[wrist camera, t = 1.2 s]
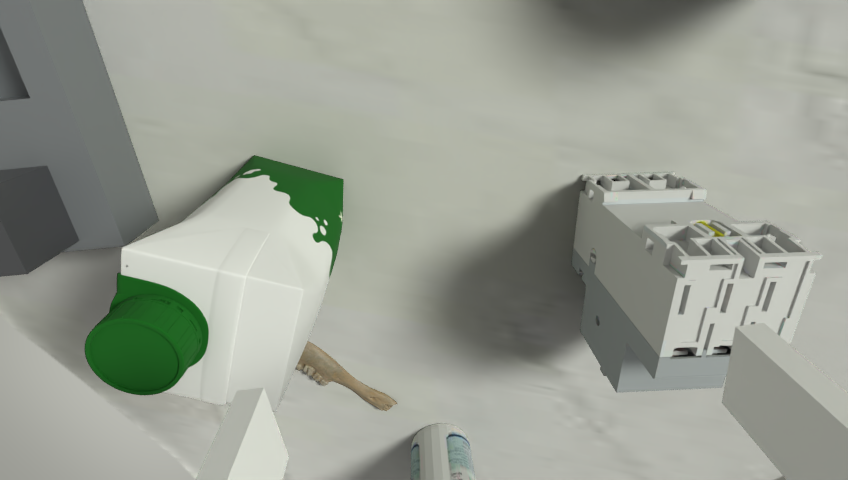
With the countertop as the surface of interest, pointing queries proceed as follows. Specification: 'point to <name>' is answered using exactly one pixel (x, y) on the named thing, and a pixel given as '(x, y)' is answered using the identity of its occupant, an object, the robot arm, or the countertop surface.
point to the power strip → (61, 141)
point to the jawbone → (338, 376)
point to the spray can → (441, 454)
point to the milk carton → (224, 290)
